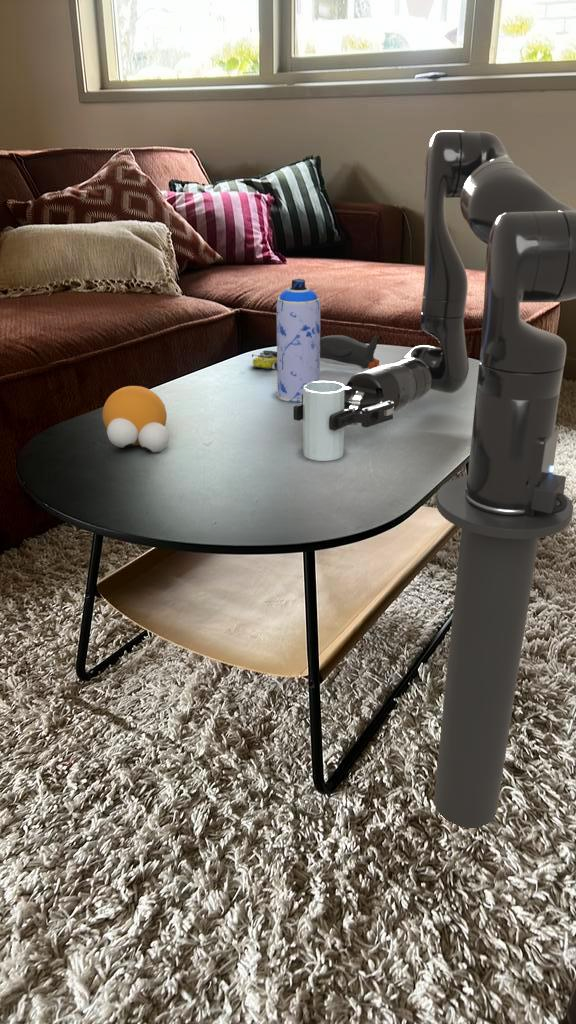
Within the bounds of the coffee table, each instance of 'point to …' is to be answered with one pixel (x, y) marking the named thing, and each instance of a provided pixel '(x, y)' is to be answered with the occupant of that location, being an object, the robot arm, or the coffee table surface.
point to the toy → (136, 419)
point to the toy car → (265, 360)
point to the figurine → (348, 351)
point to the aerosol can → (297, 340)
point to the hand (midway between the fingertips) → (313, 418)
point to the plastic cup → (322, 420)
